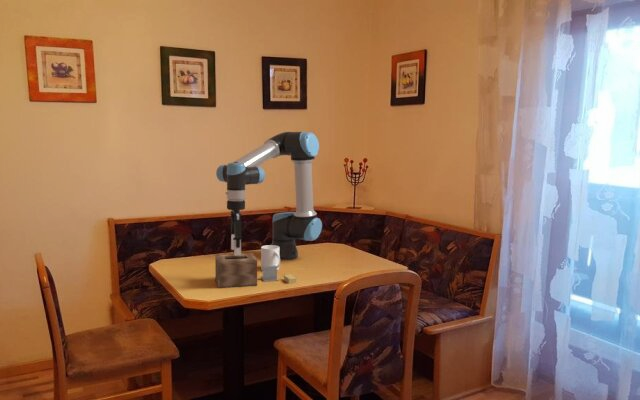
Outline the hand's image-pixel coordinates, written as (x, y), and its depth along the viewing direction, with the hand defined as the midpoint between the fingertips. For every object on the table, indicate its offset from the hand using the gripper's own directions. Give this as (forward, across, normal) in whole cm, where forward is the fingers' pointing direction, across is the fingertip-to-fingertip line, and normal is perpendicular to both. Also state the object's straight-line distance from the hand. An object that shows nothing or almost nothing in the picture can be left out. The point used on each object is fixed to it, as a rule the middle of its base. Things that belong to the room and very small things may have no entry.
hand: (235, 252), depth 218 cm
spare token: (+14, +2, +23) cm, 27 cm away
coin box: (+13, 0, 0) cm, 13 cm away
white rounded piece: (+13, -18, +19) cm, 29 cm away
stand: (+13, -2, +15) cm, 20 cm away
